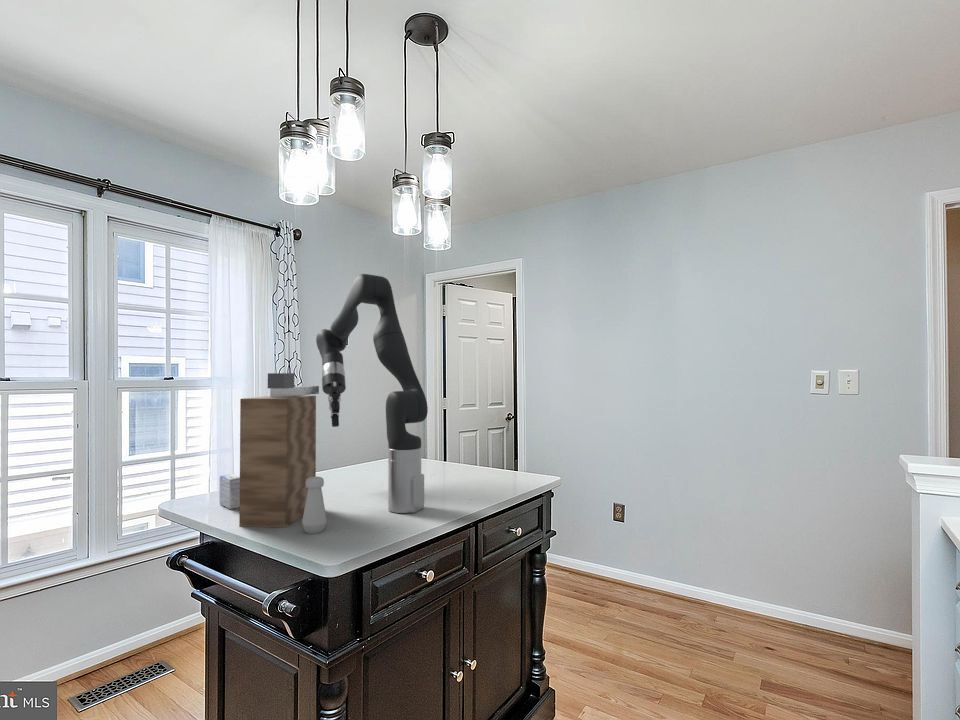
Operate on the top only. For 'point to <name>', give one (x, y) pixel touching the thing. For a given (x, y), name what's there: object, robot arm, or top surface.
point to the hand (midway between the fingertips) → (335, 419)
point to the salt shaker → (314, 507)
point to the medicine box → (230, 491)
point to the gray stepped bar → (287, 386)
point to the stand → (276, 458)
